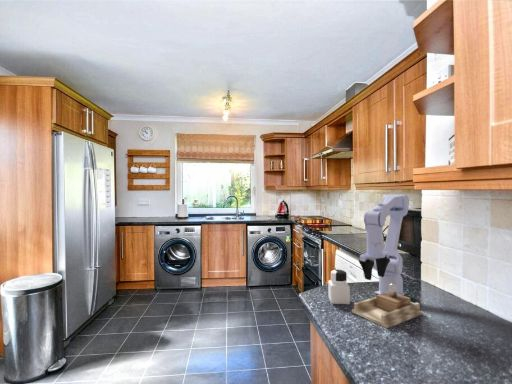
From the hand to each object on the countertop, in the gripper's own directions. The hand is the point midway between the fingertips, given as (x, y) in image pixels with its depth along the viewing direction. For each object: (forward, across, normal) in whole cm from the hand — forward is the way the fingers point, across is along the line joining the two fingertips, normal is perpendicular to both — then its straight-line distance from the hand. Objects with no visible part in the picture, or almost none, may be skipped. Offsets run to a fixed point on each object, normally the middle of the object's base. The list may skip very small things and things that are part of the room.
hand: (374, 277), depth 107 cm
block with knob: (+9, +1, -7) cm, 12 cm away
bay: (+10, -2, -7) cm, 13 cm away
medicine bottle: (+11, -8, +10) cm, 17 cm away
